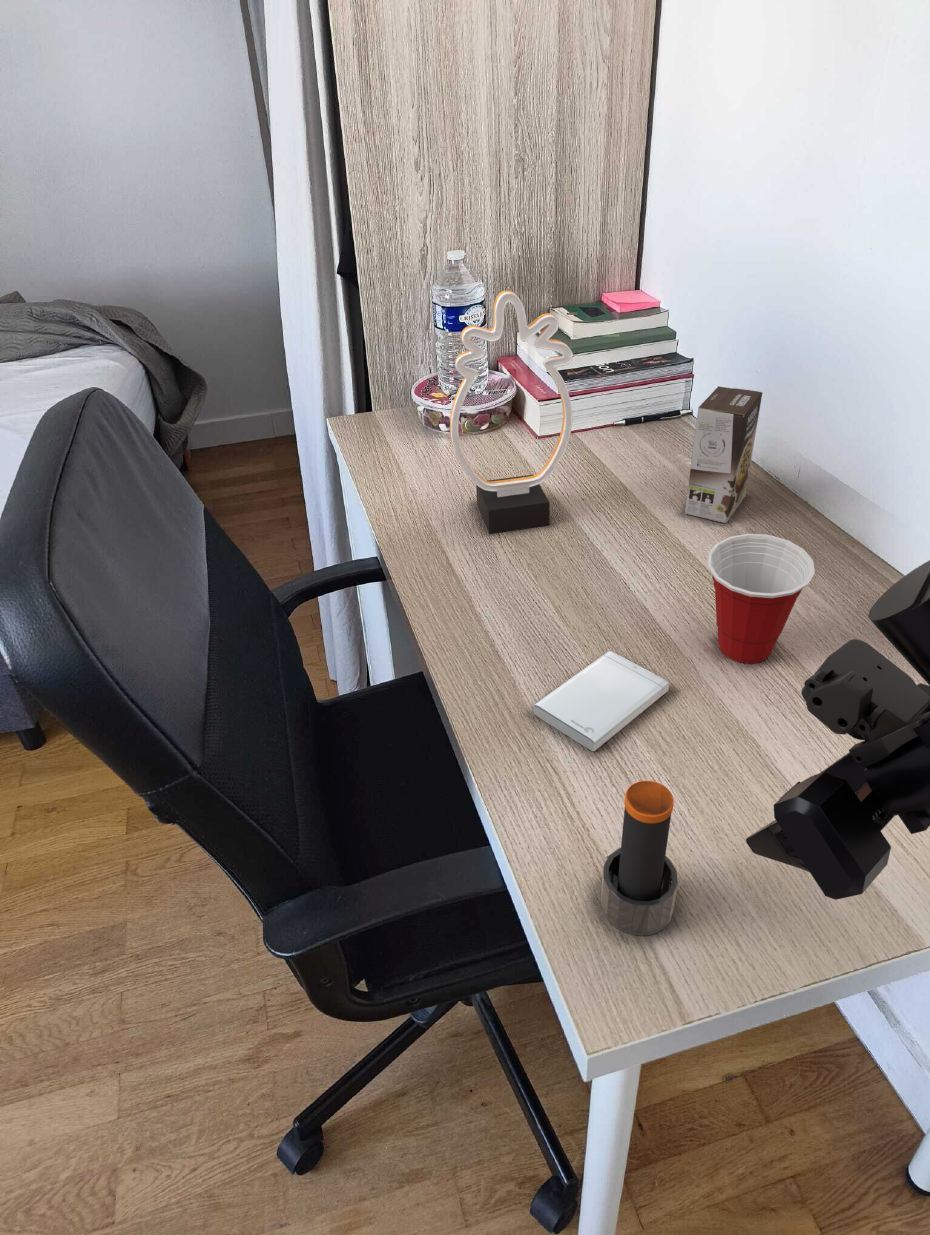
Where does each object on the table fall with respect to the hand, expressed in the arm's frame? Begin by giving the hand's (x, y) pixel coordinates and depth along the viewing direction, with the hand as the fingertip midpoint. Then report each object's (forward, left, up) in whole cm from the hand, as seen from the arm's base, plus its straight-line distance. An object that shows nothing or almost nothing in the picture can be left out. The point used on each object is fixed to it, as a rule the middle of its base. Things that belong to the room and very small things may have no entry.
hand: (784, 814), depth 59 cm
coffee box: (+54, -44, -13) cm, 71 cm away
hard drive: (+28, -5, -13) cm, 31 cm away
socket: (+6, +7, -13) cm, 16 cm away
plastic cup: (+27, -24, -13) cm, 38 cm away
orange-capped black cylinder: (+6, +7, -13) cm, 16 cm away
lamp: (+68, -18, -13) cm, 71 cm away
